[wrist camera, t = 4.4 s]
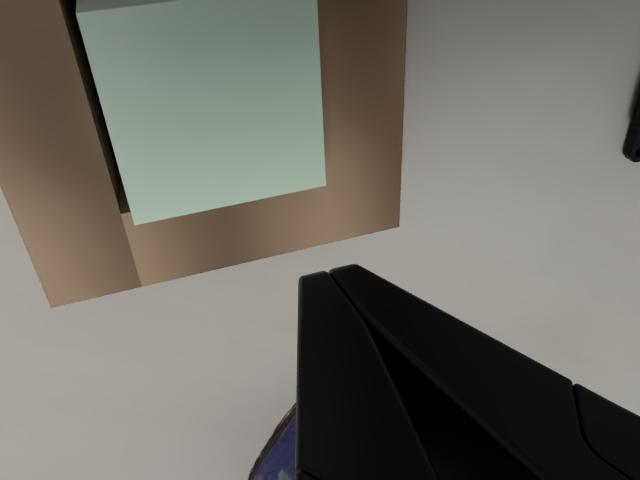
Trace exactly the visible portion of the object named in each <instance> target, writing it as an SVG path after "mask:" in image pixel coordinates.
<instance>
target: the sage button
mask: <svg viewBox="0 0 640 480" xmlns="http://www.w3.org/2000/svg"><path fill="white" fill-rule="evenodd" d="M76 16H77V20H78V24H79V27H80V31H81V34H82V38H83V42H84V45H85V49H86V53H87V56H88V60H89V63H90V67H91V71H92V74H93V78H94V81H95V85H96V89H97V92H98V96H99V99H100V103H101V107H102V110H103V114H104V117H105V121H106V125H107V128H108V132H109V135H110V139H111V143H112V146H113V150H114V153H115V157H116V161H117V164H118V168H119V171H120V175H121V179H122V182H123V186H124V189H125V193H126V197H127V200H128V204H129V207H130V211H131V215H132V218H133V222H134V225H139V224H144V223H149V222H154V221H158V220H163V219H168V218H173V217H178V216H183V215H187V214H192V213H197V212H202V211H207V210H211V209H216V208H221V207H226V206H231V205H235V204H240V203H245V202H250V201H255V200H259V199H264V198H269V197H274V196H279V195H284V194H288V193H293V192H298V191H303V190H308V189H312V188H317V187H322V186H326V173H325V153H324V132H323V111H322V90H321V69H320V48H319V28H318V7H317V0H77V2H76Z"/></svg>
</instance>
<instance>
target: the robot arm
mask: <svg viewBox="0 0 640 480" xmlns="http://www.w3.org/2000/svg"><path fill="white" fill-rule="evenodd" d="M624 155H625V157H626V158H627V159H629V160H631V161H633V162H640V97H639V101H638V104H637V108H636V111H635V115H634V118H633V122H632V126H631V129H630V133H629V136H628V140H627V144H626V147H625V151H624ZM295 471H296V474H295V480H640V416H638V415H636V414H634V413H633V412H631V411H629V410H627V409H625V408H623V407H621V406H619V405H617V404H615V403H613V402H611V401H609V400H607V399H605V398H604V397H602V396H600V395H598V394H596V393H594V392H592V391H591V390H589V389H587V388H585V387H583V386H581V385H580V384H574V385H573V384H572V381H571V380H570V379H568V378H566V377H564V376H562V375H561V374H559V373H557V372H555V371H553V370H551V369H550V368H548V367H546V366H544V365H542V364H540V363H538V362H537V361H535V360H533V359H531V358H529V357H527V356H526V355H524V354H522V353H520V352H518V351H516V350H514V349H513V348H511V347H509V346H507V345H505V344H503V343H502V342H500V341H498V340H496V339H494V338H492V337H490V336H489V335H487V334H485V333H483V332H481V331H479V330H478V329H476V328H474V327H472V326H470V325H468V324H466V323H465V322H463V321H461V320H459V319H457V318H455V317H454V316H452V315H450V314H448V313H446V312H444V311H442V310H441V309H439V308H437V307H435V306H433V305H431V304H429V303H428V302H426V301H424V300H422V299H420V298H418V297H417V296H415V295H413V294H411V293H409V292H407V291H405V290H404V289H402V288H400V287H398V286H396V285H394V284H393V283H391V282H389V281H387V280H385V279H383V278H381V277H380V276H378V275H376V274H374V273H372V272H370V271H369V270H367V269H365V268H363V267H361V266H359V265H356V264H351V265H347V266H342V267H338V268H334V269H331V270H330V271H329V272H325V271H321V272H316V273H312V274H308V275H303V276H301V277H300V278H299V284H298V339H297V394H296V449H295Z"/></svg>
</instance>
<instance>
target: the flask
mask: <svg viewBox="0 0 640 480" xmlns="http://www.w3.org/2000/svg"><path fill="white" fill-rule="evenodd" d="M292 408H293V409H291V411H290V412H288V413H287V415H286V416H285V417H284V418H283V419H282V422H281V424H280V425H279V426H278V427H277V428H276V430H275V433H274V435H273V437H272V438H271V439H270V440H269V441H268V443H267V445H266V447H265V448H264V450H263V451H262V452H261V455H260V456H259V458H258V459H257V462H255V466H253V468H252V470H251V471H250V472H251V474H250V475H249V480H295V474H296V471H295V449H296V404H295V405H294V407H292Z"/></svg>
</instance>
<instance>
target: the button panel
mask: <svg viewBox="0 0 640 480" xmlns="http://www.w3.org/2000/svg"><path fill="white" fill-rule="evenodd" d="M317 7H318V28H319V48H320V69H321V90H322V111H323V132H324V153H325V173H326V186H322V187H317V188H312V189H308V190H303V191H298V192H293V193H288V194H284V195H279V196H274V197H269V198H264V199H259V200H255V201H250V202H245V203H240V204H235V205H231V206H226V207H221V208H216V209H211V210H207V211H202V212H197V213H192V214H187V215H183V216H178V217H173V218H168V219H163V220H158V221H154V222H149V223H144V224H139V225H134V222H133V218H132V215H131V211H130V207H129V204H128V200H127V197H126V193H125V189H124V186H123V182H122V179H121V175H120V171H117V169H116V166H115V162H114V159H113V155H112V152H111V148H110V145H109V141H108V137H107V134H106V130H105V127H104V123H103V120H102V116H101V112H100V109H99V105H98V102H97V98H96V95H95V91H94V87H93V84H92V80H91V77H90V73H89V70H88V66H87V62H86V59H85V55H84V52H83V48H82V45H81V41H80V37H79V34H78V30H77V27H76V23H75V20H74V16H73V12H72V9H71V5H70V2H69V0H0V186H1V189H2V191H3V194H4V196H5V198H6V201H7V203H8V206H9V208H10V210H11V213H12V215H13V218H14V220H15V222H16V225H17V227H18V230H19V232H20V234H21V237H22V239H23V241H24V244H25V246H26V249H27V251H28V253H29V256H30V258H31V261H32V263H33V265H34V268H35V270H36V273H37V275H38V277H39V280H40V282H41V285H42V287H43V289H44V292H45V294H46V297H47V299H48V301H49V304H50V306H51V308H53V307H57V306H61V305H65V304H70V303H74V302H78V301H83V300H87V299H91V298H95V297H100V296H104V295H108V294H113V293H117V292H121V291H125V290H130V289H134V288H138V287H143V286H147V285H151V284H156V283H160V282H164V281H168V280H173V279H177V278H181V277H186V276H190V275H194V274H198V273H203V272H207V271H211V270H216V269H220V268H224V267H228V266H233V265H237V264H241V263H246V262H250V261H254V260H258V259H263V258H267V257H271V256H276V255H280V254H284V253H288V252H293V251H297V250H301V249H306V248H310V247H314V246H318V245H323V244H327V243H331V242H336V241H340V240H344V239H348V238H353V237H357V236H361V235H366V234H370V233H374V232H378V231H383V230H387V229H391V228H396V227H399V218H400V191H401V163H402V136H403V109H404V81H405V54H406V27H407V0H317Z"/></svg>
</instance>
